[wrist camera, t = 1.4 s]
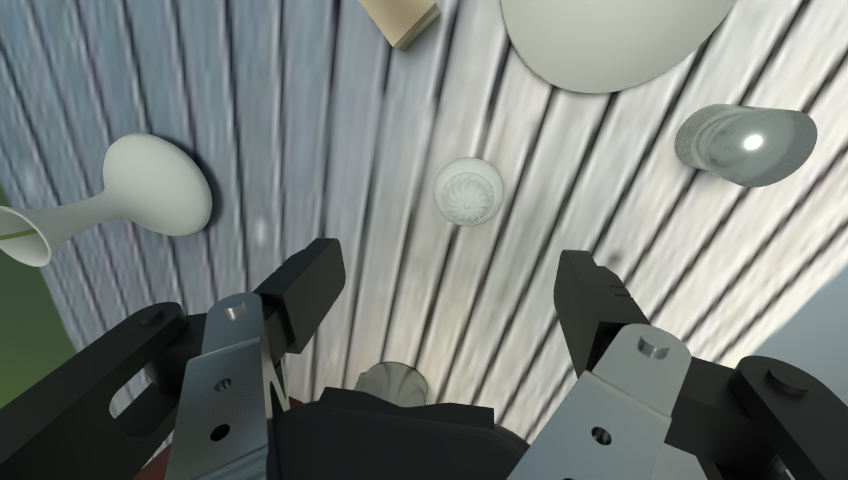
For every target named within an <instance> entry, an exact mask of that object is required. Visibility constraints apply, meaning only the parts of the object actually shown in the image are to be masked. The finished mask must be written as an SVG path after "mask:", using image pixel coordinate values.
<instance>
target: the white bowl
mask: <svg viewBox="0 0 848 480" xmlns="http://www.w3.org/2000/svg"><path fill="white" fill-rule="evenodd" d="M735 2H736V0H500V5H501V12H502V18H503V21H504V25H505V29H506V32H507V34H508V37H509V39H510V42H511V44H512V46H513V48H514V49H515V51H516V53H517V55H518V56H519V57H520V59H521V60H522V61H523V62H524V64H525V65H526V66H527V67H528V68H529V69H530V70H531V71H532V72H533V73H534V74H535V75H537V76H538V77H540V78H541V79H543V80H544V81H546V82H547V83H550V84H552V85H554V86H556V87H558V88H562V89H565V90H569V91H575V92H582V93H607V92H615V91H620V90H623V89H627V88H631V87H634V86H637V85H639V84H642V83H644V82H647V81H649V80H651V79H653V78H655V77H657V76H659V75H660V74H662V73H664V72H666V71H667V70H669V69H670V68H672V67H673V66H675V65H676V64H678V63H679V62H680V61H682V60H683V59H684V58H685V57H687V56H688V55H689V54H690V53H692V52H693V51H694V50H695V49H696V48H697V47H698V46H699V45H700V44H701V43H702V42H703V41H704V40H705V39H706V38H708V36H709V35H710V34H711V33H712V32H713V31H714V30H715V28H716V27H717V26H718V25H719V24H720V23H721V21H722V20H723V19H724V17H725V16H726V15H727V13H728V12H729V10H730V9H731V8H732V6H733V5H734V3H735Z"/></svg>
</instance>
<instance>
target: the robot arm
mask: <svg viewBox="0 0 848 480" xmlns="http://www.w3.org/2000/svg"><path fill="white" fill-rule="evenodd" d="M345 279H346V274H345V268H344V262H343V257H342V251H341V246H340V242H339V240H338V239H335V238H316V239H315V240H314V241H313V242H312V243H311V244H310V245H309V246H307V247H306V248H305V249H304V250H301V251H299V252H298V253H296V254H294V255H292V256H290V257H289V258H288V259H287V260H286V261H285V262H284V263H283V264H282V266H280V267H279V268H278V269H277V270H275V272H273V273H272V274H271V275H270V276H269V277H268V278H267V279H266V280H265V281H264V282H263V283H262V284H260V285H259V286H258V287H257V288H256V289H255V290H254V291H253V292H252V293H249V292H247V293H239V294H235V295H231V296H229V297H226V298H224V299H222V300H220V301H219V302H217V303H216V304H215V305H213V306H212V307H211V308H210V310H209V311H208V313H202V314H195V315H188V316H185V314H184V312H183V310H182V308H181V306H180V304H178V303H175V302H163V303H158V304H154V305H151V306H148V307H146V308H143V309H141V310H139V311H137V312H135V313H134V314H132V315H130V316H129V317H128V318H126V319H125V320H123V321H122V322H121V323H119V324H118V325H116V326H115V327H114V328H112V329H111V330H110V331H108V332H107V333H105V334H104V335H103V336H101V337H100V338H98V339H97V340H96V341H94V342H93V343H91V344H90V345H89V346H87V347H86V348H85V349H83V350H82V351H80V352H79V353H78V354H76V355H75V356H73V357H72V358H71V359H69V360H68V361H67V362H65V363H64V364H62V365H61V366H60V367H58V368H57V369H56V370H54V371H53V372H51V373H50V374H49V375H47V376H46V377H45V378H43V379H42V380H40V381H39V382H38V383H36V384H35V385H33V386H32V387H30V388H29V389H28V390H26V391H25V392H24V393H22V394H21V395H20V396H18V397H17V398H15V399H14V400H12V401H11V402H10V403H8V404H7V405H5V406H4V407H3V408H1V409H0V480H133V479H134V477H135V476H136V475H137V474H138V472H139V471H140V470H141V469H142V468H143V466H144V465H145V464H146V463H147V461H148V460H149V459H150V458H151V457H152V455H153V454H154V453H155V452H156V450H157V449H158V448H159V447H160V446H161V444H162V443H163V442H164V441H165V439H166V438H167V437H168V436H169V434H170V433H171V432H172V431H173V430H174V433H173V438H172V443H171V448H170V453H169V459H168V464H167V469H166V474H165V479H164V480H650V477H651V475H652V472H653V470H654V467H655V464H656V461H657V459H658V456H659V453H660V451H661V448H662V445H663V443H666V444H668V445H671V446H673V447H675V448H678V449H680V450H683V451H685V452H688V453H690V454H693V455H695V456H696V457H697V459H698V461H699V463H700V465H701V467H702V469H703V471H704V473H705V475H706V477H707V479H708V480H791V478H790V477H789V476H788V475H787V473H786V471H785V470H786V469H788V470H789V471H790V473H791V474H792V476H793V477H794V478H795V480H848V407H847V406H846V405H845V404H844V403H843V402H842V401H841V400H840V399H839V398H838V397H837V396H836V395H834V393H833V392H832V391H831V390H829V388H827V387H826V386H825V385H824V384H823V383H822V382H820V381H819V380H817V379H816V378H815V377H813V376H811V375H810V374H808V373H806V372H805V371H803V370H801V369H799V368H797V367H795V366H793V365H790V364H788V363H785V362H783V361H780V360H777V359H773V358H769V357H763V356H747V357H744V358H742V359H741V360H740V361H739V363H738V365H737V366H736V368H735V369H732V368H729V367H726V366H722V365H719V364H715V363H712V362H708V361H705V360H702V359H698V358H695V357H693V356H691V354H690V351H689V350H688V348H687V347H686V346H685V345H684V343H683V342H681V341H680V340H679V339H678V338H676V337H675V336H673V335H672V334H670V333H668V332H666V331H664V330H662V329H660V328H657V327H654V326H651V324H650V323H649V321H648V320H647V318H646V317H645V315H644V314H643V312H642V311H641V309H640V308H639V306H638V305H637V303H636V302H635V301H634V299H633V298H632V297H631V295H630V293H629V292H628V290H627V289H626V288H625V286H624V284H623V283H622V281H621V280H620V278H619V277H618V276H617V275H616V274H615V273H613V272H612V271H610V270H609V269H608V268H606V267H605V266H597V265H596V263H595V262H594V260H593V258H592V257H591V255H590V253H589V252H588V251H580V250H563V251H562V252H561V255H560V260H559V265H558V270H557V276H556V281H555V286H554V305H555V308H556V311H557V315H558V318H559V321H560V324H561V327H562V330H563V334H564V337H565V340H566V343H567V346H568V349H569V353H570V356H571V359H572V362H573V365H574V368H575V372H576V375H577V378H578V380H577V382H576V383H575V384H574V386H573V387H572V389H571V390H570V391H569V393H568V394H567V396H566V397H565V398H564V400H563V401H562V403H561V404H560V405H559V407H558V408H557V410H556V411H555V412H554V414H553V415H552V417H551V418H550V419H549V421H548V422H547V424H546V425H545V426H544V428H543V429H542V431H541V432H540V433H539V435H538V436H537V438H536V439H535V440H534V442H533V443H532V445H529V444H528V443H527V442H526V441H525V440H524V439H522V438H521V437H519V436H518V435H516V434H515V433H513V432H512V431H510V430H508V429H506V428H504V427H502V426H500V425H497V424H495V423H494V408H488V407H480V406H472V405H465V404H457V403H441V404H433V405H426V396H427V385H426V382H425V380H424V379H423V377H422V376H421V375H420V374H419V373H418V372H416V371H415V370H414V369H412V368H410V367H408V366H405V365H402V364H398V363H381V364H378V365H375V366H373V367H372V368H370V369H369V371H368V372H367V373H365V374H360V376H359V378H358V381H357V383H356V386H355V389H354V390H348V389H340V388H333V387H325V389H324V391H323V393H322V395H321V397H320V399H319V400H318V401H313V402H308V403H305V404H302V405H299V406H296V407H293V408H291V409H290V404H289V398H288V391H287V385H286V378H285V372H284V365H283V362H282V359H281V358H282V357H283V355H284V354H285V352H286V353H295V354H301V352H302V351H303V349H304V348H305V346H306V345H307V343H308V342H309V340H310V339H311V337H312V336H313V334H314V333H315V331H316V330H317V328H318V326H319V325H320V323H321V322H322V320H323V319H324V317H325V316H326V314H327V313H328V311H329V310H330V308H331V307H332V305H333V304H334V302H335V301H336V299H337V298H338V296H339V294H340V293H341V291H342V290H343V288H344V285H345ZM142 368H144V369H145V371H146V373H147V374H148V376H149V377H150V379H151V380H152V383H151V384H150V385H149V386H148V387H147V388H146V389H145V390H144V391H143V392H142V393H141V394H140V395H139V396H138V397H137V398H136V399H135V400H134V401H133V402H132V403H131V404H130V405H129V406H128V407H127V408H126V409H125V410H124V411H123V412H122V413H121V414H120V415H119V416H118V417H117V418H116V419H114V418H113V417H112V415H111V414H110V411H109V405H110V402H111V400H112V398H113V396H114V395H115V393H116V392H117V391H118V390H119V389H120V388H121V387H122V386H123V385H124V384H126V383H127V382H128V381H129V380H130V379H131V378H132V377H133V376H134V375H135V374H137V373H138V372H139V371H140V370H141V369H142Z"/></svg>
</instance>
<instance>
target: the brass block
mask: <svg viewBox="0 0 848 480" xmlns="http://www.w3.org/2000/svg"><path fill="white" fill-rule="evenodd" d="M359 1H360V3H361V4H362V5H363V7H364V8H365V9H366V11H367V12H368V14H369V15H370V16H371V18H372V19H373V20H374V22H375V23H376V25H377V26H378V27H379V29H380V30H381V31H382V33H383V34H384V36H385V37H386V38H387V40H388V41H389V43H390V44H391V45H392V47H394V48H397V49H399V50H402V51H404V50H405V49H406V48H407V47H408V46H409V45H410V44H411V43H412V42H413V41H414V40H415V39H416V38H417V37H418V36H419V35H420V34H421V33H422V32H423V31H424V30H425V29H426V28H427V27H428V26H429V25H430V24H431V23H432V22H433V21H434V20H435V19H436V18H437V17H438V16H439V15H440V14H441V13H440V11H439V9H438V7H437V5H436V3H435V1H434V0H359Z"/></svg>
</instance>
